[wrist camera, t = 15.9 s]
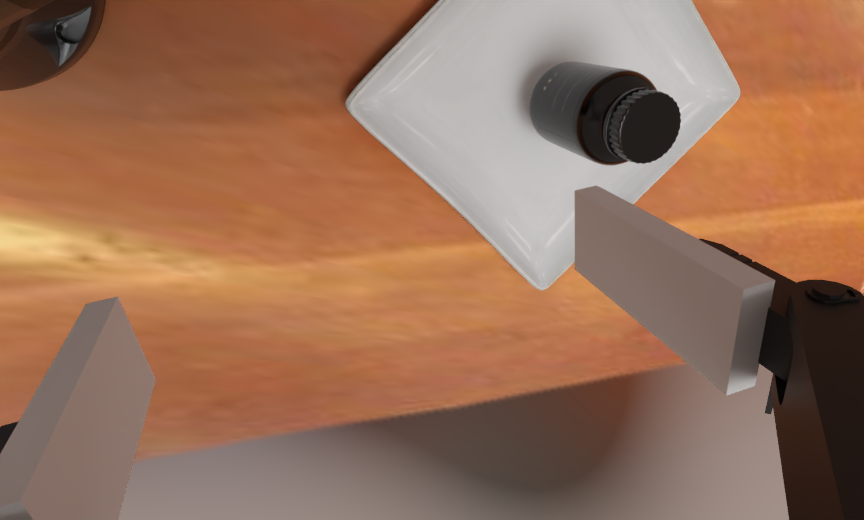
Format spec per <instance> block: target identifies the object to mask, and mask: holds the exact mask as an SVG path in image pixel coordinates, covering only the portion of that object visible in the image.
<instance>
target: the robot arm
mask: <svg viewBox="0 0 864 520" xmlns="http://www.w3.org/2000/svg"><path fill="white" fill-rule="evenodd" d="M104 6H105V0H0V91H5V90H14V89H19V88H24V87H27V86H31V85H34V84H37V83H40V82H43V81H45V80H48V79H51V78H53V77H55V76H57V75H59V74H61V73H62V72H64V71H66V70H67V69H69V68H70V67H71V66H73V65H74V64H75V63H76V62H77V61H78V60H79V59H80V58H81V57H82V56H83V55H84V54H85V53H86V51H87V50H88V49H89V47H90V46H91V44H92V43H93V41H94V39H95V37H96V35H97V33H98V30H99V28H100V25H101V22H102V17H103V13H104ZM575 270H576V271H578V272H579V273H580V274H581V275H582V276H584V277H585V278H586V279H587V280H588V281H590V282H591V283H592V284H593V285H594V286H596V287H597V288H598V289H599V290H600V291H602V292H603V293H604V294H605V295H606V296H608V297H609V298H610V299H611V300H612V301H614V302H615V303H616V304H617V305H618V306H620V307H621V308H622V309H623V310H624V311H626V312H627V313H628V314H629V315H630V316H632V317H633V318H634V319H635V320H636V321H638V322H639V323H640V324H641V325H642V326H644V327H645V328H646V329H647V330H648V331H650V332H651V333H652V334H653V335H654V336H656V337H657V338H658V339H659V340H660V341H662V342H663V343H664V344H665V345H666V346H668V347H669V348H670V349H671V350H672V351H674V352H675V353H676V354H677V355H678V356H680V357H681V358H682V359H683V360H684V361H686V362H687V363H688V364H689V365H690V366H692V367H693V368H694V369H695V370H696V371H698V372H699V373H700V374H701V375H702V376H704V377H705V378H706V379H707V380H708V381H710V382H711V383H712V384H713V385H714V386H716V387H717V388H718V389H719V390H721V391H722V392H723V393H724V394H725V395H729V394H732V393H735V392H738V391H741V390H744V389H747V388H750V387H753V386H755V383H756V377H757V372H758V367H759V363H760V364H761V365H763V366H764V367H765V368H767V369H768V370H770V371H771V372H772V373H773V377H772V382H771V387H770V392H769V396H768V402H767V406H766V410H765V413H767V414H771V411H772V408H773V409H774V416H775V423H776V430H777V437H778V444H779V450H780V458H781V465H782V472H783V479H784V486H785V493H786V500H787V506H788V514H789V520H864V296H863V295H862V294H861V292H859V291H857V290H855V289H853V288H852V287H850V286H847V285H843V284H840V283H837V282H832V281H826V280H806V281H801V282H798V283H796V282H794V281H792V280H790V279H788V278H786V277H784V276H782V275H780V274H778V273H776V272H775V271H773V270H771V269H769V268H767V267H765V266H763V265H761V264H759V263H757V262H752V260H751V259H749V258H747V257H745V256H744V255H739V253H738V252H736V251H734V250H732V249H730V248H728V247H726V246H724V245H722V244H719V243H715V242H711V241H708V240H704V239H697V238H695V237H693V236H691V235H689V234H687V233H685V232H684V231H682V230H680V229H678V228H676V227H674V226H672V225H670V224H669V223H667V222H665V221H663V220H661V219H659V218H657V217H655V216H654V215H652V214H650V213H648V212H646V211H644V210H642V209H640V208H639V207H637V206H635V205H633V204H631V203H629V202H627V201H625V200H624V199H622V198H620V197H618V196H616V195H614V194H612V193H610V192H609V191H607V190H605V189H603V188H601V187H599V186H597V185H596V186H592V187H587V188H583V189H579V190H575ZM155 381H156V379H155V377H154V375H153V373H152V370H151V368H150V366H149V364H148V362H147V359H146V357H145V355H144V353H143V351H142V348H141V346H140V344H139V342H138V340H137V337H136V335H135V333H134V331H133V329H132V326H131V324H130V322H129V320H128V318H127V315H126V313H125V311H124V309H123V307H122V304H121V302H120V300H119V298H118V297H114V298H110V299H105V300H101V301H97V302H92V303H88V304H86V305H85V307H84V308H83V310H82V312H81V314H80V315H79V317H78V319H77V321H76V322H75V324H74V326H73V328H72V329H71V331H70V333H69V335H68V336H67V338H66V340H65V342H64V343H63V345H62V347H61V349H60V350H59V352H58V354H57V356H56V357H55V359H54V361H53V363H52V364H51V366H50V368H49V370H48V371H47V373H46V375H45V377H44V378H43V380H42V382H41V384H40V385H39V387H38V389H37V391H36V392H35V394H34V396H33V398H32V399H31V401H30V403H29V405H28V406H27V408H26V410H25V412H24V413H23V415H22V417H21V419H20V420H19V422H15V423H11V424H8V425H4V426H1V427H0V520H118V518H119V514H120V510H121V506H122V503H123V499H124V495H125V492H126V488H127V484H128V481H129V477H130V473H131V470H132V466H133V462H134V459H135V455H136V451H137V447H138V444H139V440H140V436H141V433H142V429H143V425H144V422H145V418H146V414H147V410H148V407H149V403H150V399H151V396H152V392H153V388H154V385H155Z"/></svg>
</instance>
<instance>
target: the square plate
mask: <svg viewBox="0 0 864 520" xmlns="http://www.w3.org/2000/svg"><path fill="white" fill-rule="evenodd" d="M564 62H582V63H589V64H595V65H602V66H608V67H615V68H621V69H627V70H632V71H636V72H639V73H641V74H643V75H644V76H646V77H647V78H648V79H649V80H650V81H651V82H652V83H653V84H654V86H655V87H656V89H657V91H660V92H663V93H666V94H668V95H669V96H670V97H672V98H673V99H674V101H675V102H677V106H678V107H679V112H680V113H681V116H680V119H681V123H680V130H679V134H678V136H677V137H676V141H675V142H674V143H673V145H672V147H671V148H670V149H669V150H668V152H667V153H666V154H664V155H663V156H662V157H661V158H658V159H657V160H656V161H652V162H651V163H645V164H641V163H639V164H637V163H634V162H630V161H628V162H626V163H623V164H619V165H602V164H598V163H595V162H593V161H590V160H588V159H586V158H584V157H582V156H579V155H577V154H575V153H573V152H570V151H568V150H566V149H564V148H562V147H559V146H557V145H555V144H553V143H551V142H549V141H547V140H545V139H544V138H542V137H541V136H540V135H539V134H538V133H537V131H536V130H535V128H534V126H533V124H532V121H531V118H530V110H529V107H530V99H531V95H532V92H533V89H534V87H535V85H536V83H537V82H538V80H539V79H540V78H541V77H542V75H543V74H544V73H545V72H546V71H548V70H549V69H550V68H552V67H554V66H556V65H558V64H560V63H564ZM740 94H741V93H740V87H739V85H738V83H737V81H736V79H735V77H734V76H733V74H732V72H731V70H730V68H729V66H728V64H727V62H726V60H725V59H724V57H723V55H722V53H721V52H720V50H719V48H718V46H717V44H716V43H715V41H714V39H713V37H712V36H711V34H710V32H709V30H708V29H707V27H706V25H705V23H704V22H703V20H702V18H701V16H700V14H699V13H698V11H697V9H696V7H695V5H694V3H693V2H692V0H438V1H437V3H436V4H435V5H434V6H433V7H432V8H431V9H430V10H429V11H428V12H427V13H426V14H425V15H424V16H423V17H422V18H421V19H420V20H419V21H418V22H417V23H416V24H415V25H414V26H413V28H412V29H411V30H410V31H409V32H408V33H407V34H406V35H405V36H404V37H403V38H402V39H401V40H400V41H399V42H398V43H397V44H396V45H395V46H394V47H393V48H392V49H391V50H390V51H389V52H388V53H387V54H386V55H385V56H384V57H383V58H382V59H381V60H380V61H379V62H378V63H377V64H376V65H375V66H374V67H373V69H372V70H371V71H370V72H369V73H368V74H367V75H366V76H365V77H364V78H363V79H362V80H361V81H360V83H359V84H358V85H357V86H356V87H355V88H354V90H353V91H352V92H351V93H350V94H349V96H348V97H347V99H346V102H345V106H346V108H347V109H348V111H349V112H350V114H351V115H352V116H353V117H354V118H355V119H356V120H357V121H358V122H359V123H360V124H361V125H362V126H363V127H364V128H365V129H366V130H367V131H368V132H369V133H371V134H372V135H373V136H374V137H375V138H376V139H377V140H378V141H380V142H381V143H382V144H383V145H384V146H385V147H386V148H387V149H389V150H390V151H391V152H392V153H393V154H394V155H395V156H396V157H398V158H399V159H400V160H401V161H402V162H403V163H405V164H406V165H407V166H408V167H409V168H410V169H411V170H412V171H414V172H415V173H416V174H417V175H418V176H419V177H420V178H422V179H423V180H424V181H425V182H426V183H427V184H428V185H429V186H430V187H432V188H433V189H434V190H435V191H436V192H437V193H438V194H439V195H440V196H441V197H443V198H444V199H445V200H446V201H447V202H448V203H449V204H450V205H451V206H452V207H453V208H454V209H456V210H457V211H458V212H459V213H460V214H461V215H462V216H463V217H464V218H465V219H466V220H467V221H468V222H469V223H470V224H471V225H472V226H473V227H474V228H475V229H476V230H477V231H478V232H479V233H480V234H481V235H482V236H483V237H484V238H485V239H486V240H487V241H488V242H489V243H490V244H491V245H492V246H493V247H494V248H495V249H496V250H497V251H498V252H499V253H500V254H501V255H502V256H503V257H504V258H505V259H506V260H507V261H508V262H509V263H510V264H511V265H512V266H513V267H514V268H515V269H516V270H517V271H518V272H519V273H520V274H521V275H522V276H523V277H524V278H525V279H526V280H527V281H528V282H529V283H530V284H531V285H532V286H534V287H535V288H536V289H539V290H544V289H547V288H548V287H549V286H550V285H551V284H552V283H554V282H555V281H556V280H557V279H558V278H559V277H560V276H561V275H562V274H563V273H564V272H565V271H566V270H567V269H568V268H569V267H570V266H571V265H572V264H573V263H574V262H575V190H579V189H583V188H587V187H592V186H596V185H597V186H599V187H601V188H603V189H605V190H607V191H609V192H610V193H612V194H614V195H616V196H618V197H620V198H622V199H624V200H625V201H627V202H629V203H631V204H634V203H635V202H636V201H637V200H638V199H639V198H640V197H641V196H642V195H643V194H644V193H645V192H646V191H647V190H648V189H649V188H650V187H651V186H652V185H653V184H654V183H655V182H656V181H657V180H658V179H659V178H660V177H662V176H663V175H664V174H665V173H666V172H667V171H668V170H669V169H670V168H671V167H672V166H673V165H674V164H675V163H676V162H677V161H678V160H679V159H680V158H681V157H682V156H683V155H684V154H685V153H686V152H687V151H688V150H689V149H690V148H691V147H692V146H693V145H694V144H695V143H696V142H697V141H698V140H699V139H700V138H701V137H702V136H703V135H704V134H705V133H706V132H707V131H708V130H709V129H710V128H711V127H712V126H713V125H714V124H715V123H716V122H717V121H718V120H719V119H720V118H721V117H722V116H723V115H724V114H725V113H726V112H727V111H728V110H729V109H730V108H731V107H732V106H733V105H734V104H735V103H736V101H737V100H738V99H739V97H740Z"/></svg>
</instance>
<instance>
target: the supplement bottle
mask: <svg viewBox="0 0 864 520" xmlns="http://www.w3.org/2000/svg"><path fill="white" fill-rule="evenodd" d="M529 110H530V118H531V121H532V124H533V126H534V128H535V130H536V131H537V133H538V134H539V135H540V136H541V137H542V138H544V139H545V140H547V141H549V142H551V143H553V144H555V145H557V146H559V147H562V148H564V149H566V150H568V151H570V152H573V153H575V154H577V155H579V156H582V157H584V158H586V159H588V160H590V161H593V162H595V163H598V164H602V165H619V164H623V163H626V162H628V161H630V162H634V163H637V164H639V163H641V164H645V163H651V162H652V161H656V160H657V159H658V158H661V157H662V156H663V155H664V154H666V153H667V152H668V150H669V149H670V148H671V147H672V145H673V143H674V142H675V141H676V137H677V136H678V134H679V130H680V123H681V119H680V116H681V113H680V112H679V107H678V106H677V102H675V101H674V99H673V98H672V97H670V96H669V95H668V94H666V93H663V92H660V91H657V89H656V87H655V86H654V84H653V83H652V82H651V81H650V80H649V79H648V78H647V77H646V76H644V75H643V74H641V73H639V72H636V71H632V70H627V69H621V68H615V67H608V66H602V65H595V64H589V63H582V62H564V63H560V64H558V65H556V66H554V67H552V68H550V69H549V70H548V71H546V72H545V73H544V74H543V75H542V77H541V78H540V79H539V80H538V82H537V83H536V85H535V87H534V89H533V92H532V95H531V99H530V107H529Z"/></svg>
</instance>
